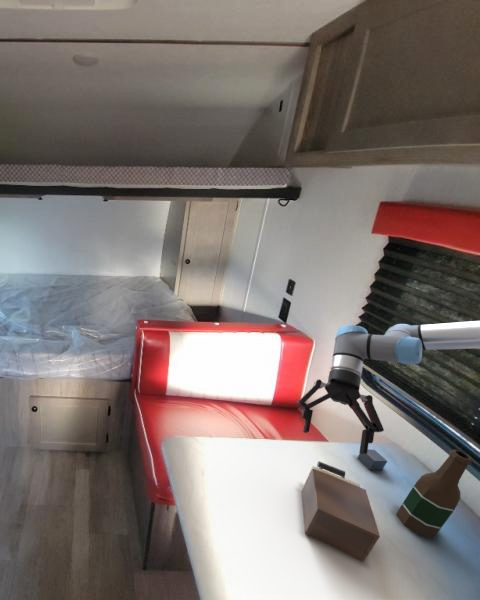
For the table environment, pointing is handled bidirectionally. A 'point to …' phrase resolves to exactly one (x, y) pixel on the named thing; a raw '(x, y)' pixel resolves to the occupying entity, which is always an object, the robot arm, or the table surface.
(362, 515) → the cabinet
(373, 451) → the block
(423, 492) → the beer bottle
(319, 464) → the drawer
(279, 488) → the table surface
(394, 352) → the robot arm
